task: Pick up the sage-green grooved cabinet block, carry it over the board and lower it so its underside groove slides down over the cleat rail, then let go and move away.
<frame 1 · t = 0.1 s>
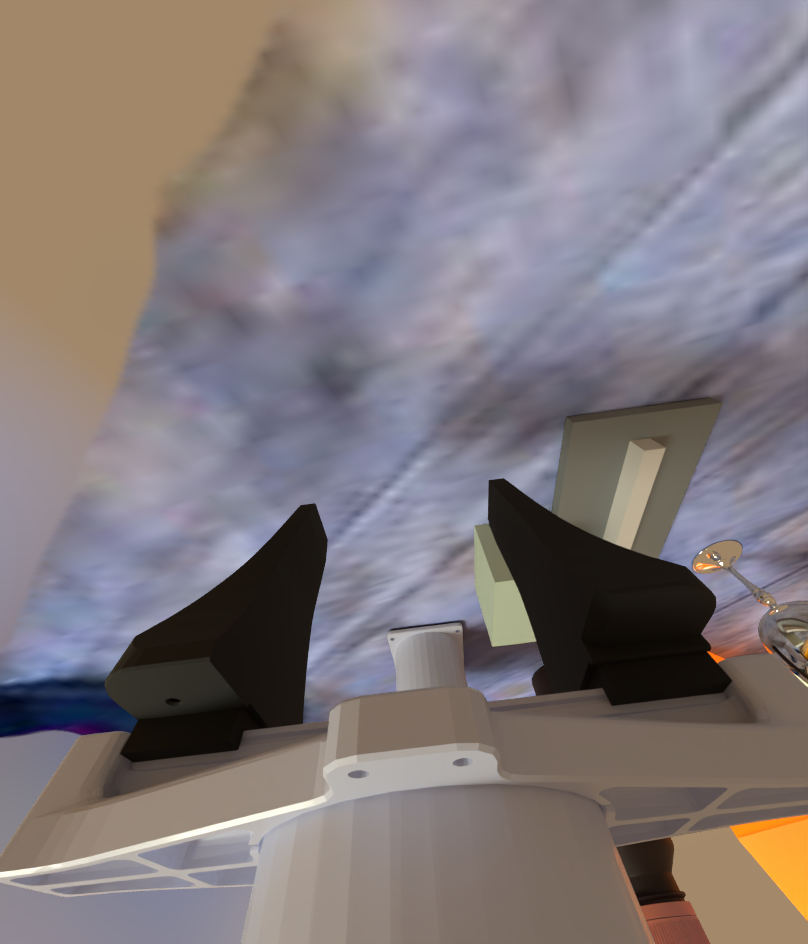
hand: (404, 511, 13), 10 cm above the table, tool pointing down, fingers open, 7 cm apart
bottle: (556, 672, 41), on the table
wineglass: (714, 555, 31), on the table
cleat board: (612, 499, 27), on the table
cabinet block: (501, 554, 29), on the table
orange juice: (680, 668, 43), on the table
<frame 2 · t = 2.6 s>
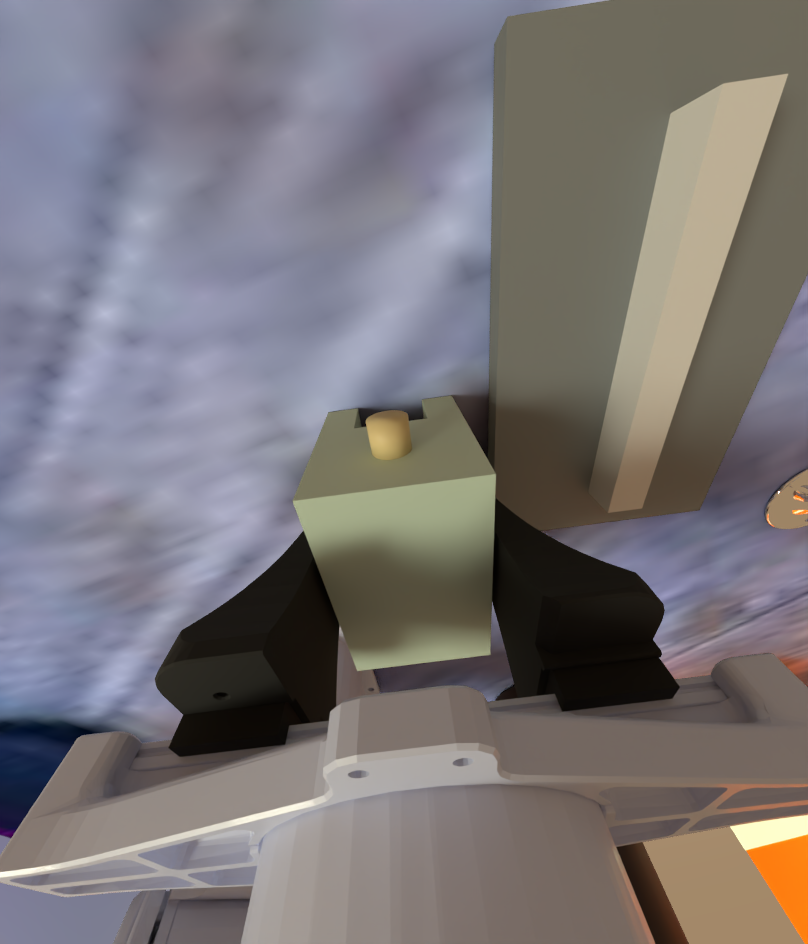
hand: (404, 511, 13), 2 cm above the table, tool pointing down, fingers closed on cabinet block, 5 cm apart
bottle: (530, 696, 27), on the table
wineglass: (807, 493, 17), on the table
cleat board: (620, 346, 12), on the table
cabinet block: (402, 485, 15), on the table, touching gripper
orange juice: (720, 689, 28), on the table
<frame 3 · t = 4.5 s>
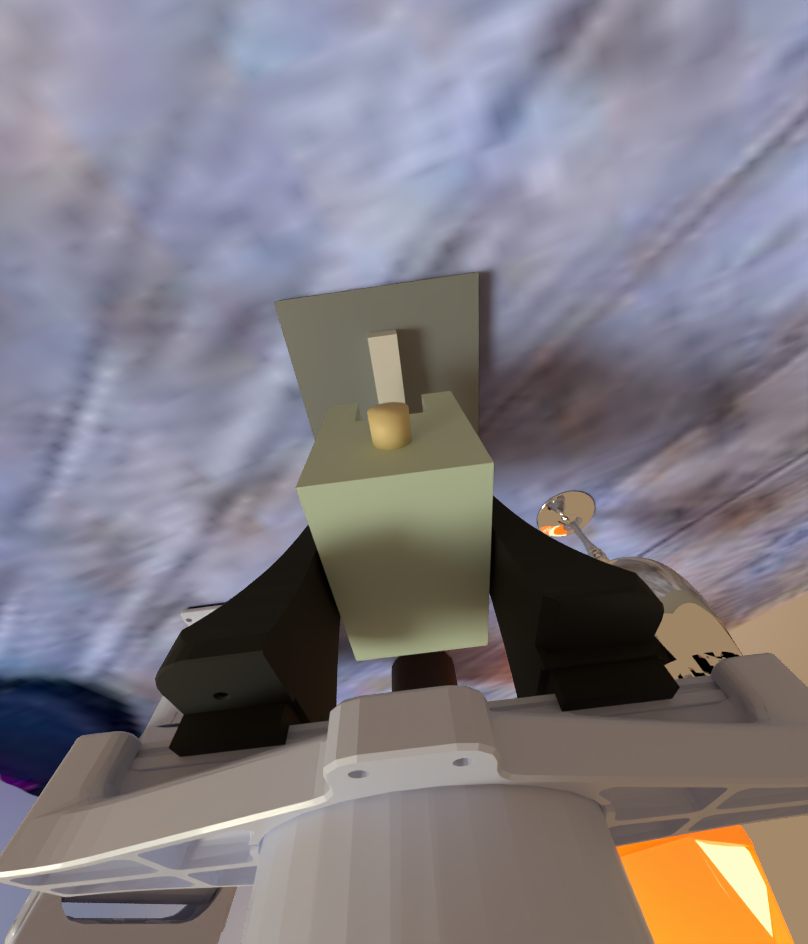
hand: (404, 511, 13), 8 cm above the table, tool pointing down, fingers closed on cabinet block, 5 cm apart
bottle: (422, 662, 35), on the table
wineglass: (563, 512, 25), on the table
cleat board: (397, 429, 21), on the table
cabinet block: (401, 480, 15), point 6 cm above the table, touching gripper
orange juice: (572, 658, 37), on the table
when the fingers open (4 cm above the table, at t = 6.4 s): cabinet block stays where it is, resting on cleat board.
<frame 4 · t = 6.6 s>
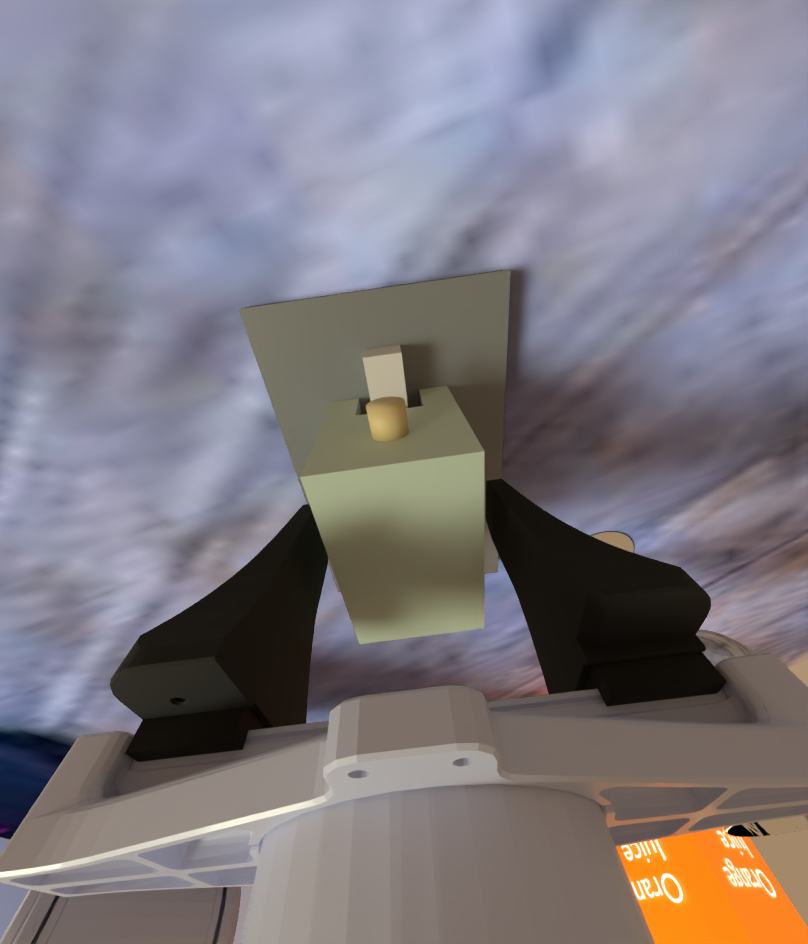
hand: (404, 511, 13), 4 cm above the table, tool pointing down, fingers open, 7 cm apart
wineglass: (596, 554, 21), on the table
cleat board: (400, 464, 17), on the table
cabinet block: (401, 472, 16), point 1 cm above the table, touching cleat board
orange juice: (594, 702, 33), on the table
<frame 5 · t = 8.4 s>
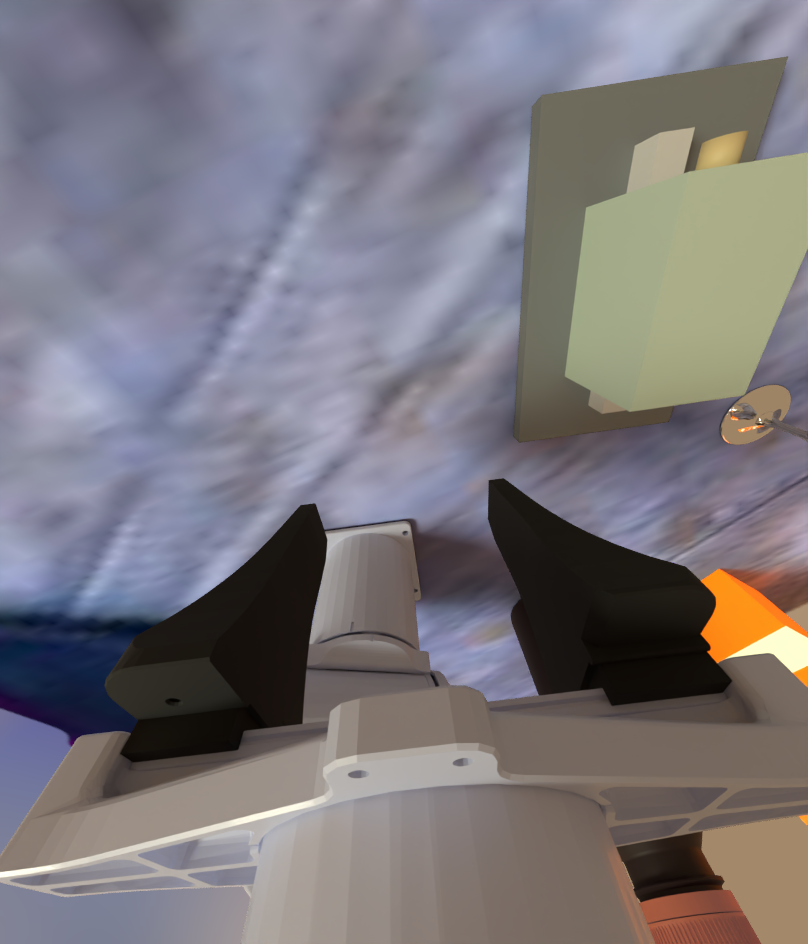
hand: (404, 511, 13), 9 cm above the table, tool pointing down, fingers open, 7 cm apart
bottle: (541, 606, 33), on the table
wineglass: (751, 414, 23), on the table
cleat board: (609, 296, 18), on the table
cabinet block: (620, 294, 17), point 1 cm above the table, touching cleat board
orange juice: (698, 604, 34), on the table
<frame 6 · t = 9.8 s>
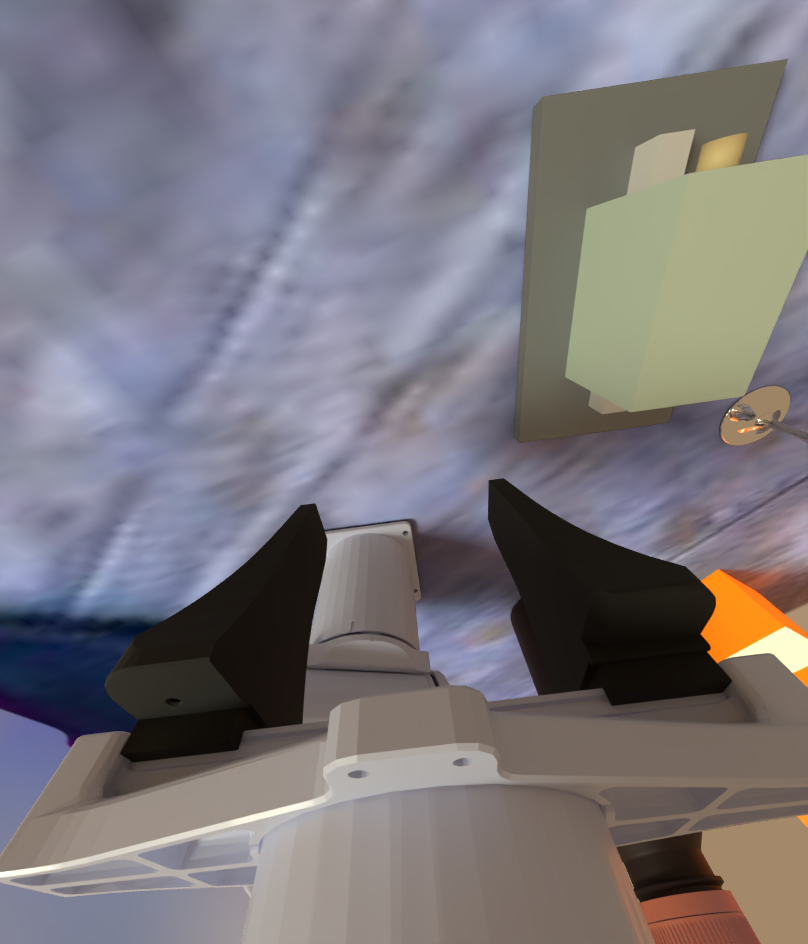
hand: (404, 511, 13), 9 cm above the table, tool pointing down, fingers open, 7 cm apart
bottle: (541, 607, 33), on the table
wineglass: (750, 415, 23), on the table
cleat board: (609, 296, 18), on the table
cabinet block: (621, 295, 17), point 1 cm above the table, touching cleat board
orange juice: (698, 604, 34), on the table
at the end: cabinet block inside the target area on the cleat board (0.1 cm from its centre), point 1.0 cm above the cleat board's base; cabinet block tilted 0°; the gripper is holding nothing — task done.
